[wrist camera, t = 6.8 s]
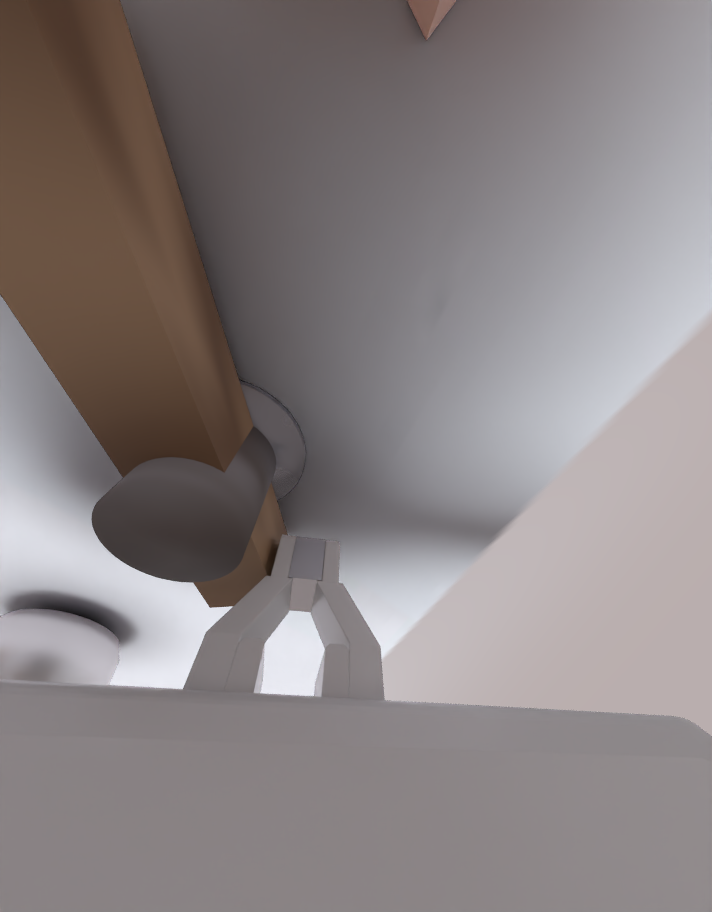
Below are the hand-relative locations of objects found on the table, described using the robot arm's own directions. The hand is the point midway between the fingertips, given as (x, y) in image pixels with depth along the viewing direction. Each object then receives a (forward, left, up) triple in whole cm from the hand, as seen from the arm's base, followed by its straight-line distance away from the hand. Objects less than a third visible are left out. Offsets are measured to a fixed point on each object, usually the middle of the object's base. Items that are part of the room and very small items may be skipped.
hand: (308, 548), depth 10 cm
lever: (-6, +2, -1) cm, 6 cm away
